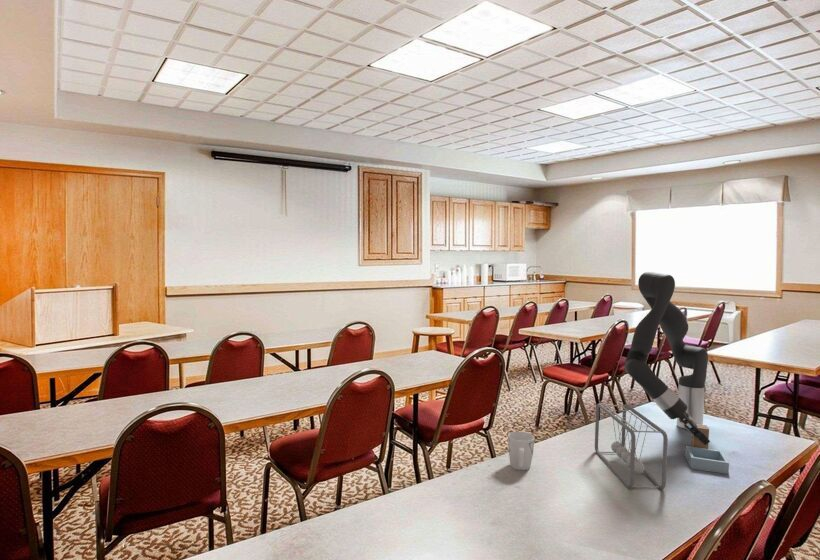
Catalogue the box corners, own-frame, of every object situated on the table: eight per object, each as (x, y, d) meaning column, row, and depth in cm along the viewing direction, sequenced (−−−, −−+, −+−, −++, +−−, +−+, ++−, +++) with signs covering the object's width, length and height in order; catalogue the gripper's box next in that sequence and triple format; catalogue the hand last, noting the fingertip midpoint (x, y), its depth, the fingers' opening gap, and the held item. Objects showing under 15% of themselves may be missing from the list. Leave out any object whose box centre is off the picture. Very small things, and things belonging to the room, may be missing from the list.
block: (691, 447, 178) (692, 423, 177) (705, 449, 176) (706, 425, 176) (693, 452, 174) (694, 427, 173) (707, 454, 172) (709, 429, 171)
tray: (685, 456, 171) (686, 446, 170) (720, 461, 167) (721, 450, 166) (690, 468, 161) (691, 457, 160) (728, 474, 157) (729, 463, 157)
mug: (534, 477, 152) (535, 445, 151) (506, 474, 153) (507, 443, 153) (533, 462, 163) (533, 432, 162) (507, 459, 165) (508, 430, 164)
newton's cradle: (593, 451, 174) (595, 401, 173) (623, 451, 174) (625, 402, 173) (630, 491, 144) (632, 432, 143) (666, 492, 144) (668, 433, 143)
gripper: (681, 401, 170) (719, 441, 166) (675, 391, 183) (711, 427, 179) (663, 414, 172) (701, 454, 168) (658, 403, 185) (693, 439, 182)
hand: (706, 440), depth 174 cm, fingers closed on block, 4 cm apart
